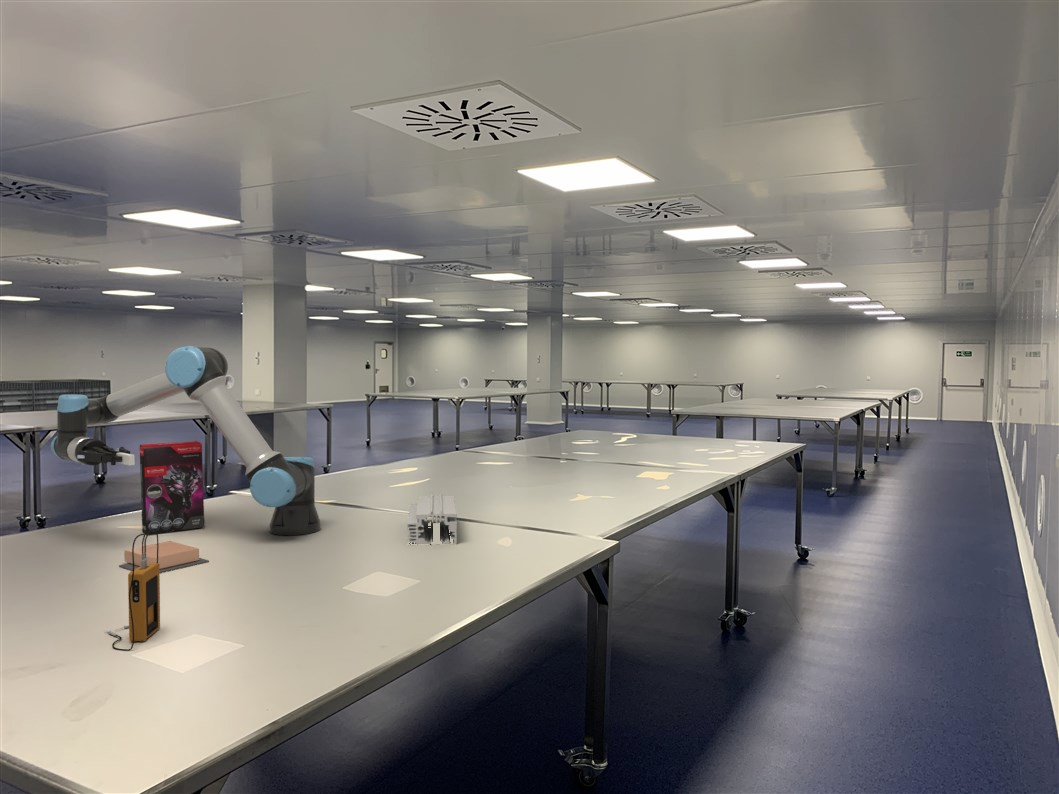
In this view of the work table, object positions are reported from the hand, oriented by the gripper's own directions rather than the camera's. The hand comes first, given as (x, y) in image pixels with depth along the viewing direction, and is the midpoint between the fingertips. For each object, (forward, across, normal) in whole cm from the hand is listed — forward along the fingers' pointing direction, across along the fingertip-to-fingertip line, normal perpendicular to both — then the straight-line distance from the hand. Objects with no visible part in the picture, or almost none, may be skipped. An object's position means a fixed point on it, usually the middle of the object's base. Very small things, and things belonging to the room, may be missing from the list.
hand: (131, 460), depth 197 cm
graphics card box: (-17, -21, -27) cm, 38 cm away
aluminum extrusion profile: (+50, -65, -26) cm, 86 cm away
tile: (+10, +1, -23) cm, 25 cm away
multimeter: (+60, +33, -23) cm, 72 cm away
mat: (+18, +2, -25) cm, 31 cm away
